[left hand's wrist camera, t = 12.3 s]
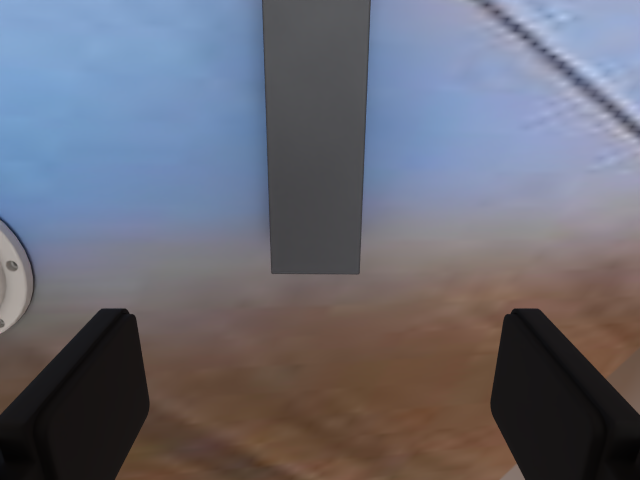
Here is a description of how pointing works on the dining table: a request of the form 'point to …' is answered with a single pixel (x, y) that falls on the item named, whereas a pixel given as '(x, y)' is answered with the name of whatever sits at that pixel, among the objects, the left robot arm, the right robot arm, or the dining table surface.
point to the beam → (315, 132)
